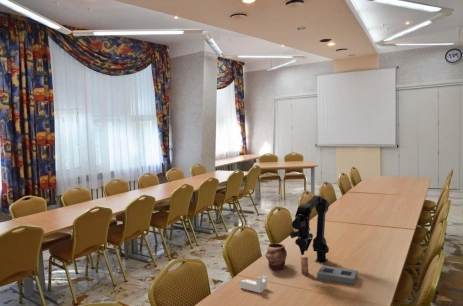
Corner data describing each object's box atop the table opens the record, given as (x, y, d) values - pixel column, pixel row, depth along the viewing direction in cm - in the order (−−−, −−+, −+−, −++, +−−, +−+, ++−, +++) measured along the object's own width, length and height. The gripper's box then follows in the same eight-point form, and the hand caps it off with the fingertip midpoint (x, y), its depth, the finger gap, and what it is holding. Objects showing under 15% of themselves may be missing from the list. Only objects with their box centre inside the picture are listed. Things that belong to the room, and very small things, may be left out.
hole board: (322, 271, 210) (322, 265, 210) (357, 277, 201) (357, 270, 200) (317, 279, 200) (316, 273, 200) (353, 285, 190) (353, 278, 190)
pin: (302, 271, 212) (302, 255, 211) (309, 272, 210) (308, 256, 209) (300, 274, 209) (300, 257, 208) (307, 275, 207) (306, 258, 206)
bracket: (266, 290, 192) (267, 276, 193) (259, 292, 187) (261, 278, 188) (246, 285, 200) (247, 272, 201) (239, 287, 194) (240, 273, 195)
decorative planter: (274, 259, 234) (273, 239, 233) (292, 262, 228) (291, 241, 227) (262, 270, 217) (261, 248, 216) (280, 274, 210) (279, 251, 209)
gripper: (295, 222, 220) (295, 247, 220) (286, 228, 203) (286, 255, 203) (313, 224, 215) (313, 249, 215) (305, 230, 198) (305, 258, 199)
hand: (304, 253), depth 208 cm, fingers open, 9 cm apart
